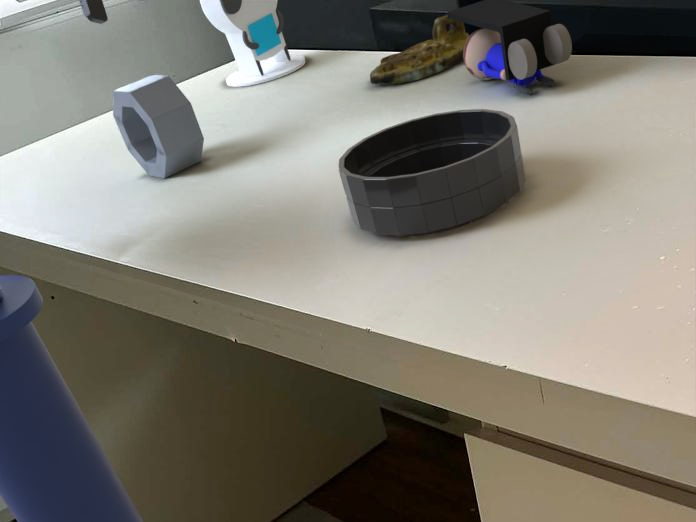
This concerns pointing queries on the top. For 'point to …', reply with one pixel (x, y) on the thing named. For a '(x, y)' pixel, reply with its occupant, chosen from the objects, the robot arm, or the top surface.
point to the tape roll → (158, 125)
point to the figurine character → (512, 42)
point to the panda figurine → (253, 39)
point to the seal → (424, 55)
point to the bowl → (433, 172)
